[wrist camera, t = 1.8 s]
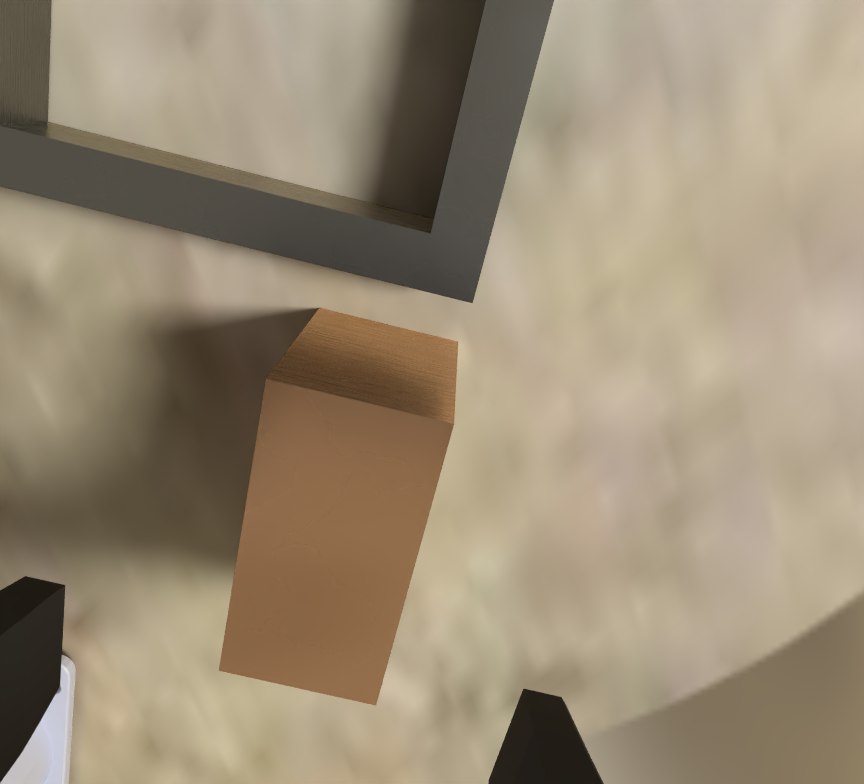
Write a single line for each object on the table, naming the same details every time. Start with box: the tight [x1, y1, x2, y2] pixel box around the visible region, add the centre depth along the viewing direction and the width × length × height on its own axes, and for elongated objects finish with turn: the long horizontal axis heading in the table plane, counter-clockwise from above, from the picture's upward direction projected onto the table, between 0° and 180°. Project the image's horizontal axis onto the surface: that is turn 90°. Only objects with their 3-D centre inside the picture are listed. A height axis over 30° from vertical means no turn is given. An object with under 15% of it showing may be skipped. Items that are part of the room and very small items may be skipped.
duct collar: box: [0, 0, 554, 303], centre depth 14 cm, size 8×11×2 cm
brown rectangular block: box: [219, 308, 458, 705], centre depth 17 cm, size 7×4×5 cm, turn 167°
